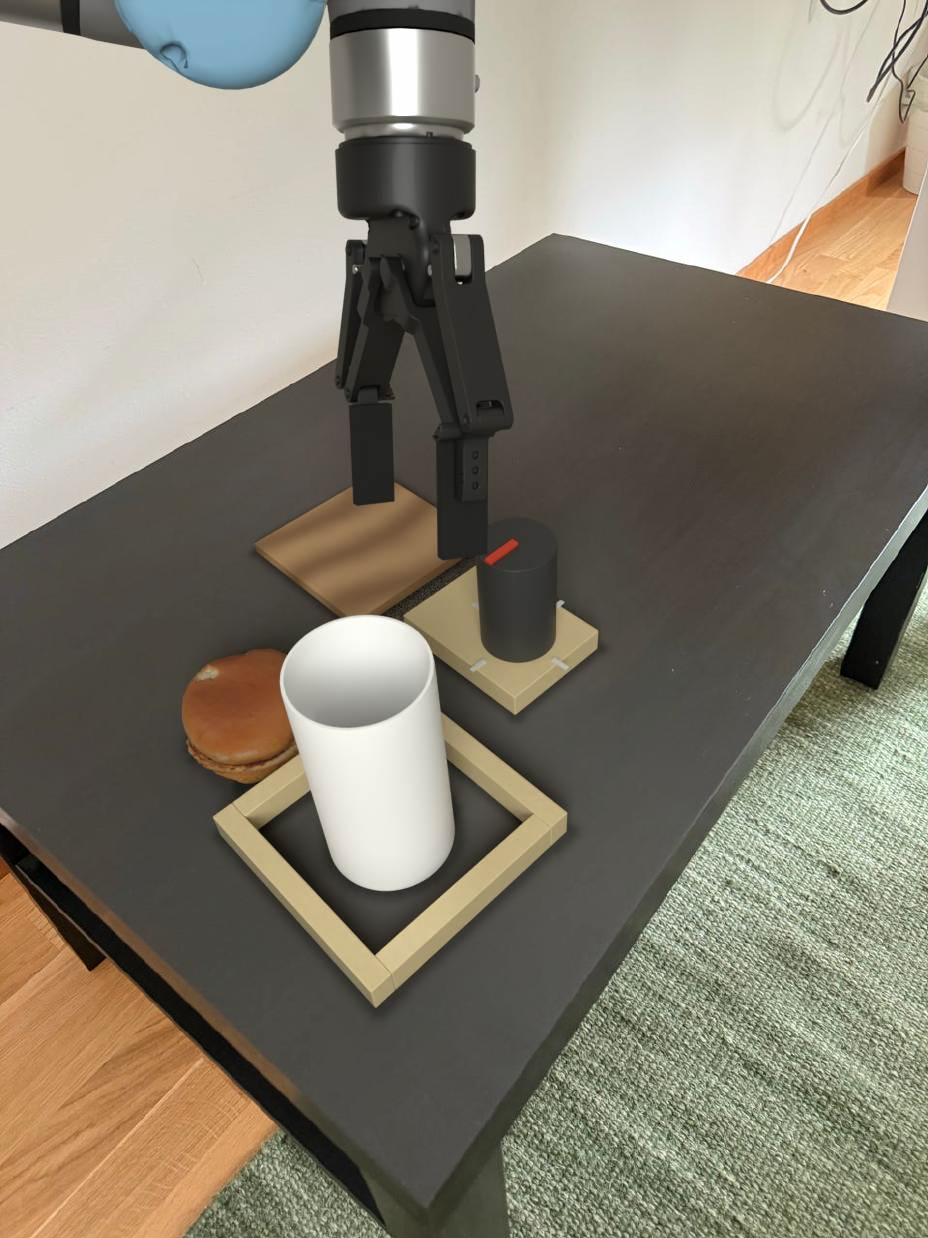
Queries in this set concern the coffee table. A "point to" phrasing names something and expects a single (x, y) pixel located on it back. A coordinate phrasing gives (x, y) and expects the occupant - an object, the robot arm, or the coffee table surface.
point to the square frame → (439, 919)
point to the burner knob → (518, 590)
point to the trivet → (359, 551)
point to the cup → (372, 748)
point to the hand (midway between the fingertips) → (413, 527)
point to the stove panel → (458, 643)
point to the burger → (239, 716)
